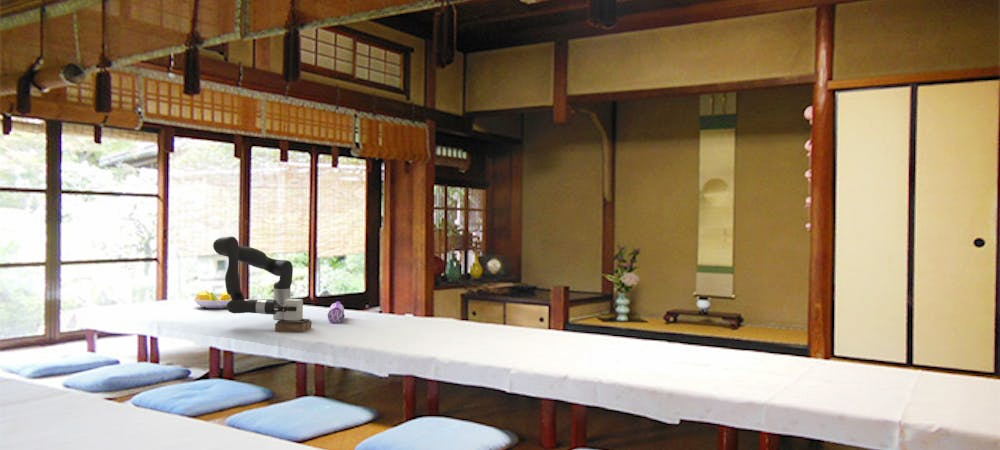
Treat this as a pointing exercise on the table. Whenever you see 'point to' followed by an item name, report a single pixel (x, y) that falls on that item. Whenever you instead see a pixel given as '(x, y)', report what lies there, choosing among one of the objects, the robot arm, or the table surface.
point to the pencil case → (336, 313)
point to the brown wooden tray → (292, 325)
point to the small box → (296, 314)
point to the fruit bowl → (212, 299)
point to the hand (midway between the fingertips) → (298, 308)
